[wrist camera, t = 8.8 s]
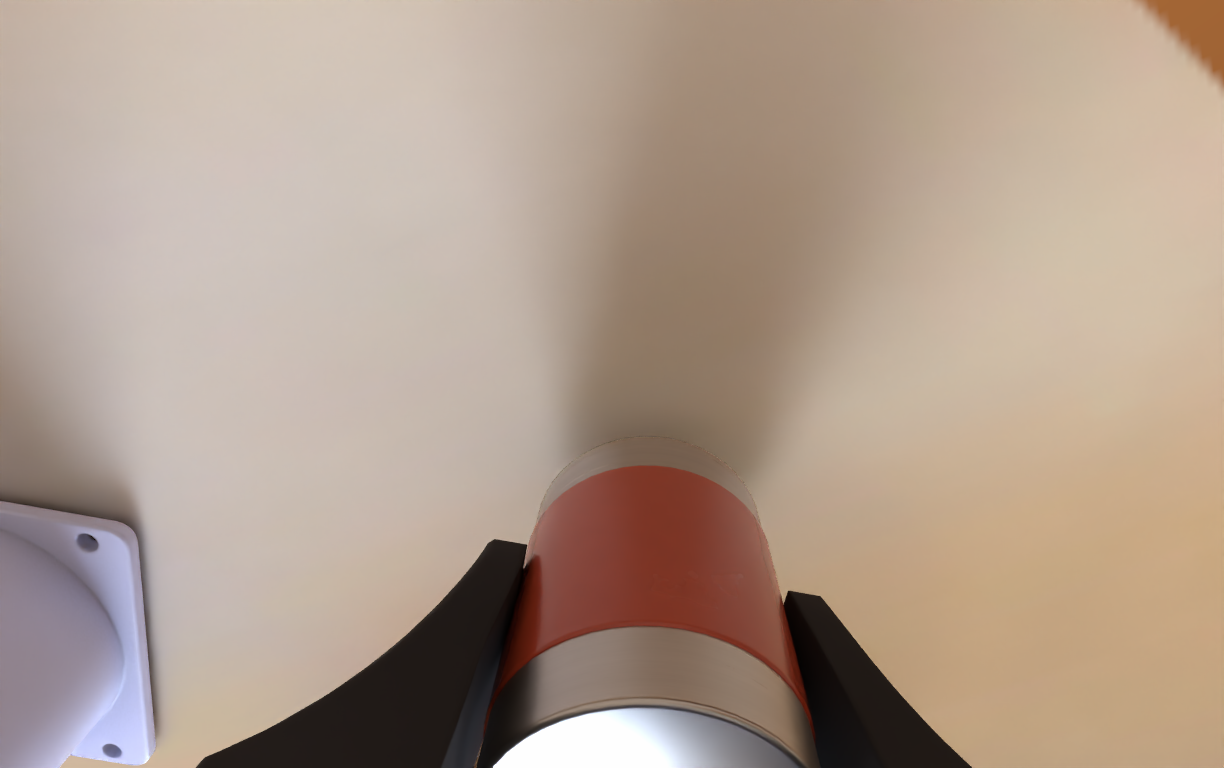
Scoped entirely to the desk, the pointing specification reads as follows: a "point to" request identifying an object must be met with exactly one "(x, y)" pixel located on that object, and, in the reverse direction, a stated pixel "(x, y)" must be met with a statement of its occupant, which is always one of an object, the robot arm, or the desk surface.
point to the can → (648, 625)
